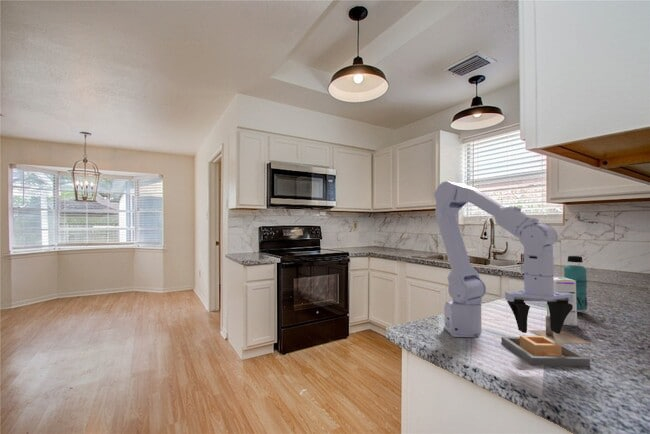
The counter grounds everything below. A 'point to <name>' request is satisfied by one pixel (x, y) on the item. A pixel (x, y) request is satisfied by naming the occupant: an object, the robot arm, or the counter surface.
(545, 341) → the ring
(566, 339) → the stake board
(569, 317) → the syrup box
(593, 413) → the counter surface
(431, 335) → the counter surface
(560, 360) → the tray
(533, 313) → the counter surface
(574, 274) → the beverage bottle
